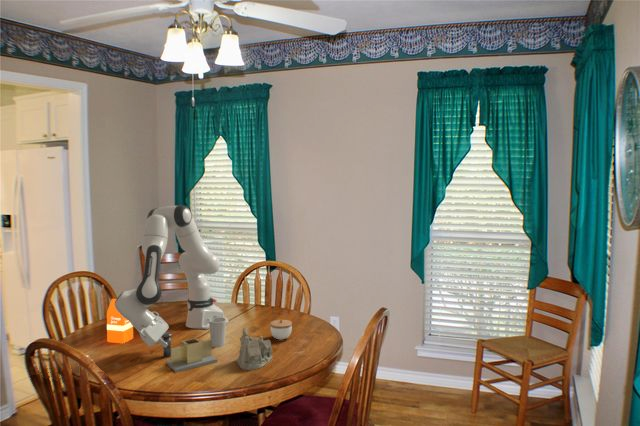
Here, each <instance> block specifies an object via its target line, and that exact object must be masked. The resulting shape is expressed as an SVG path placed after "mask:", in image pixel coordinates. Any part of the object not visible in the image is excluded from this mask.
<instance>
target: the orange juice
mask: <svg viewBox="0 0 640 426" xmlns="http://www.w3.org/2000/svg"><path fill="white" fill-rule="evenodd" d="M116 300H117V298H111V301H110V303H109V306H108V307H107V311H106V333H107V334H106V338H107V339H106V340H107V343H113V344H123V343H124V344H126V343H127V342H129V341H131V340H133V339H134V327H133V326H132V324H131V323H130V321H128V320H127V319H125V318H124V317H123V316H122V315H121V314H120V313H119V312H118V311H117V310H116V308H115V301H116ZM125 342H126V343H125Z"/></svg>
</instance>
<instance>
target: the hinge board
mask: <svg viewBox="0 0 640 426" xmlns="http://www.w3.org/2000/svg"><path fill="white" fill-rule="evenodd" d="M165 363H166V365H167V366H169V368H170V369H172V370H173V371H174V372H175V373H179V372H183V371H187V370H192V369H194V368H199V367H202V366H207V365H211V364H214V363H218V358H217V357H215V356H214V355H212V356H207V357H203V358H202V361H199V362H195V363H191V364H186V363H185V362H183V363H179V364H175V365H171V359H168V360H166V361H165Z"/></svg>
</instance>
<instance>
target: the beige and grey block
mask: <svg viewBox="0 0 640 426" xmlns="http://www.w3.org/2000/svg"><path fill="white" fill-rule="evenodd" d="M180 343H181V344H180V345H179V346H175V347H171V356H170V360H171V365H175V364H179V363H183V362H185V363H186V364H191V363H195V362H199V361H202V358H203V357H207V356H213V351H212V350H213V349H212V348H213V347H212V340H211V339H206V340H203V341H201V340H200V339H198V338H197V337H194V338H189V339H185V340H181V342H180Z"/></svg>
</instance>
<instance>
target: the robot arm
mask: <svg viewBox="0 0 640 426" xmlns="http://www.w3.org/2000/svg"><path fill="white" fill-rule="evenodd" d="M146 219H147V220H146V221H145V225H144V227H143V228H144V229H143V232H142V237H141V238H142V239H141V251H142V254H143V256H144V269H143V277H142V280H141V282H140V283H139V284H138V287H137V288H132V289H129V290H124V291H122V292H121V293H120V294H119V295H118V297H116V299H117V300H116V301H115V308H116V310H117V311H118V312H119V313H120V314H121V315H122V316H123V317H124V318H125V319H127V320H128V321H130V323H131V324H132V326H133V328H135V329H136V330H137V332H138V333H139V336H140V339H141V340H142V341H143V342H144V343H145V344H146V345H147V346H148V347H150V348H153V346H154V345H155V344H159V345H160V346H162V347H165V348H166V347H167V346H168V343H167V342H165V341H163V337H162V335H163V334H164V333H167V331H168V329H169V328H170V327H169V324H168V323H167V322H166V321H165V320H164V319H163V318H162V317H161V316H160V314H159V313H158V312H157V311H150V310H149V309H148V307H150V306H152V305H155V304H156V303H157V302H158V301H159V300H160V299H161V298H162V286H161V284H160V280H159V279H160V269H161V262H162V259H163V256H164V254H165V252H166V249H167V246H168V240H169V239H168V238H169V230H171V229H173V230H174V233H175V235H176V238H177V241H178V244H179V246H180V248H181V250H183V251H184V252H183V253H181V254H180V255H179V258H178V266H179V267H180V269H182V271H183V273H184V275H185V278H186V281H187V289H188V298H187V318H186V322H185V327H186V328H189V329H200V330H201V329H203V330H208V329H210V326H209V320H210V319H211V318H216V317H222V318H226V324H228V323H229V319H228V318H227V317H226V316H225V315H224V314H225V313H224V311H223V310H222V309H221V308H220V307H219V306H217V305H215V304H216V303H217V299H216V298H212V297H211V284H210V282H209V280H208V279H207V278H206V275H214V274H216V273H217V272H218V271H219V269H220V267H221V266H220V265H221V262H220V261H221V260H220V259H219V257H218V256H217V255H215V254H214V253H213V252H212V251H211V250H210V248H208V246H207V245H206V243H205V242H204V240H203V239H202V236H201V234H200V231H199V229H198V226H197V224H196V221H195V220H194V218H193V215H192V211H191V210H190V208H189V207H188V206H186V205H182V204H179V205H167V206H162V207H155V208H152V209H151V210H150V211H149V212H148V214H147V217H146Z"/></svg>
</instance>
